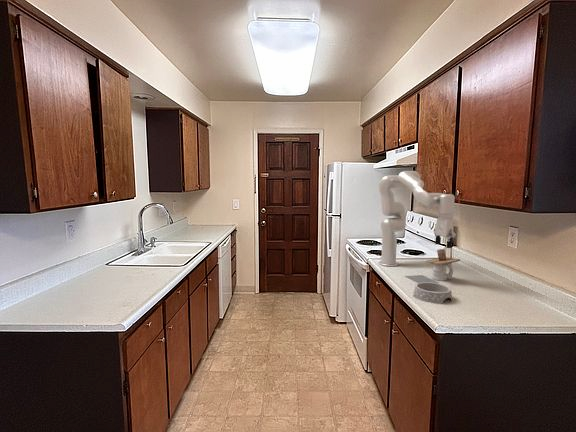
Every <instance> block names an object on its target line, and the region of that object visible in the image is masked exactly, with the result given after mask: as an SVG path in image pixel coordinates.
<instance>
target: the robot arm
mask: <svg viewBox="0 0 576 432" xmlns="http://www.w3.org/2000/svg"><path fill="white" fill-rule="evenodd" d="M424 187H425V182H424V181H423V180H422V179H421V175H420V173H419V172H417V171H416V170H402V171H401V172H399V174H398V175H392V174H390V175H385V176H383V177H382V178H381V179H380V181H379V184H378V189H379V193H380V200H381V201H380V202H381V211H382V214H383V215H384V216H385V217H386V218H384V219H383V220H382V221H381V224H380V229H381V256H380V261H378V265H380V266H384V267H397V266H399V262H398V261H397V241H398V239H397V235H396V233H395V232H402V231H404V230H405V229H406V226H407V219H406V209H405V206H404V204H403V203H402V202H400V201H395V195H394V193H393V191H392V189H402V188H406V189H408V190H409V191H411V192H412V195H413V196H414V198H415V200H416V201H417V202H419V203H420V204H421V205H423V206H426V207H438V214H437V216H438V217H437V219H436V223H435V228H433V233H434V238H435V241H434V244H435V245H441V241H442V237H444V238H446V246H445V247H446V249H452V248H453V242H454V240H455V239H456V237H457V234H456V232H455V231H454V229H455V228H454V227H455V225H454V211H455V210H454V209H455V199H456V198H455V195H454V194H453V193H451V194H450V193H449V194H448V193H441V192H427V191H426V190H424V189H423V188H424ZM388 217H389V218H388Z"/></svg>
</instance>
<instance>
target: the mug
mask: <svg viewBox="0 0 576 432" xmlns="http://www.w3.org/2000/svg"><path fill="white" fill-rule="evenodd" d="M447 267H448V269H449V270H448V271H449V272H448V273H447ZM453 272H454V268H453V265H452V263H450V264H446V265H437V264H433V267H432V275H431V279H432V280H434V281H436V282H443V281H446V280H447V278H448V279H451V278H452V277H453Z"/></svg>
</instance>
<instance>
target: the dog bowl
mask: <svg viewBox="0 0 576 432" xmlns="http://www.w3.org/2000/svg"><path fill="white" fill-rule="evenodd" d="M412 296H413V297H414V298H415V299H417V300H419V301H421V302H425V303H429V302H431V303H432V304H443V303H444V301H446V300H447V299H448V298H449V299H451V301H453V300H454V299H453V296H452V289H451V288H450V287H449V286H447V285H445V284H441V283H432V282H422V283H416V284H415V287H414V290H413V295H412Z"/></svg>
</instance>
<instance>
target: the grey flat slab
mask: <svg viewBox="0 0 576 432" xmlns="http://www.w3.org/2000/svg"><path fill="white" fill-rule="evenodd" d="M404 277H405V278H406V279H409V280H411V281H413V282H414V283H416V284H418V283H422V282H432V283H438V284H440V281H437V280H434V279H432V278H430V277H428V276H426V275H423V274H417V275H415V274H414V275H405V276H404Z"/></svg>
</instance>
